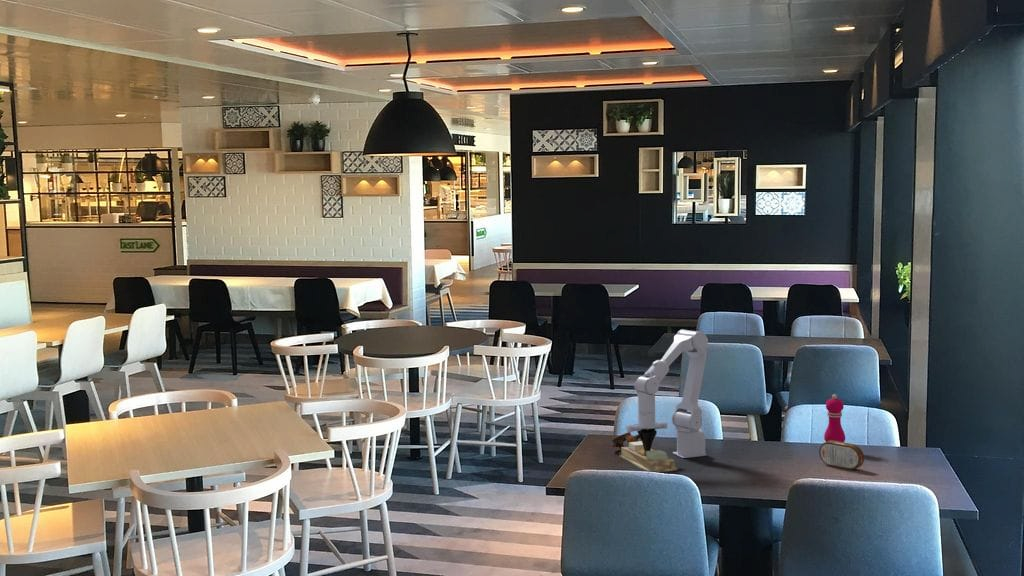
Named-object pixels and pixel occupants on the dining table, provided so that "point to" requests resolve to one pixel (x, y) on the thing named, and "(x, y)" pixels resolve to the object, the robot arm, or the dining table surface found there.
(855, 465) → the tin
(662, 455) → the sage key
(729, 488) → the dining table surface
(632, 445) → the ivory key
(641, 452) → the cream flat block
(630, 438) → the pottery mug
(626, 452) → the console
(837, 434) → the pepper mill
